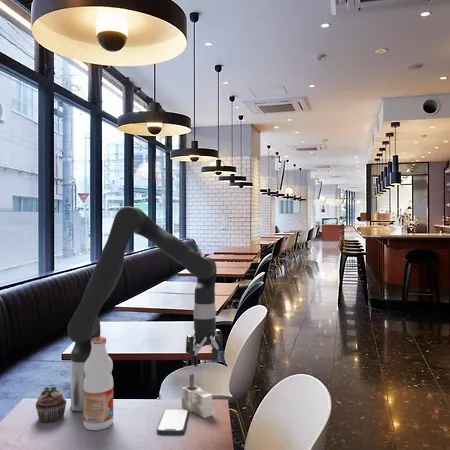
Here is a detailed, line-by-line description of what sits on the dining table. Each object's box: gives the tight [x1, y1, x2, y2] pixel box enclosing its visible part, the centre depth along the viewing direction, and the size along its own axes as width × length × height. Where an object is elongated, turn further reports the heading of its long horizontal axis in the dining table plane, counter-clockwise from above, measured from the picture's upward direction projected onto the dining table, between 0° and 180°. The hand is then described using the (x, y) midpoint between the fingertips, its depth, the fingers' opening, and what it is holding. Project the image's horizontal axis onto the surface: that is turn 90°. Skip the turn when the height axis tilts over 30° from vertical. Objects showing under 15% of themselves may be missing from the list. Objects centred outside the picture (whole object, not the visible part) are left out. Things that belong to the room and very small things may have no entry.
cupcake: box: [35, 386, 67, 424], centre depth 142 cm, size 10×10×10 cm
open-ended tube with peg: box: [181, 384, 213, 419], centre depth 148 cm, size 12×5×7 cm, turn 41°
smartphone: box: [156, 408, 190, 436], centre depth 139 cm, size 9×2×16 cm
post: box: [188, 372, 195, 390], centre depth 150 cm, size 2×2×12 cm
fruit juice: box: [82, 336, 114, 431], centre depth 138 cm, size 9×9×28 cm
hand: (204, 362), depth 145 cm, fingers open, 8 cm apart
